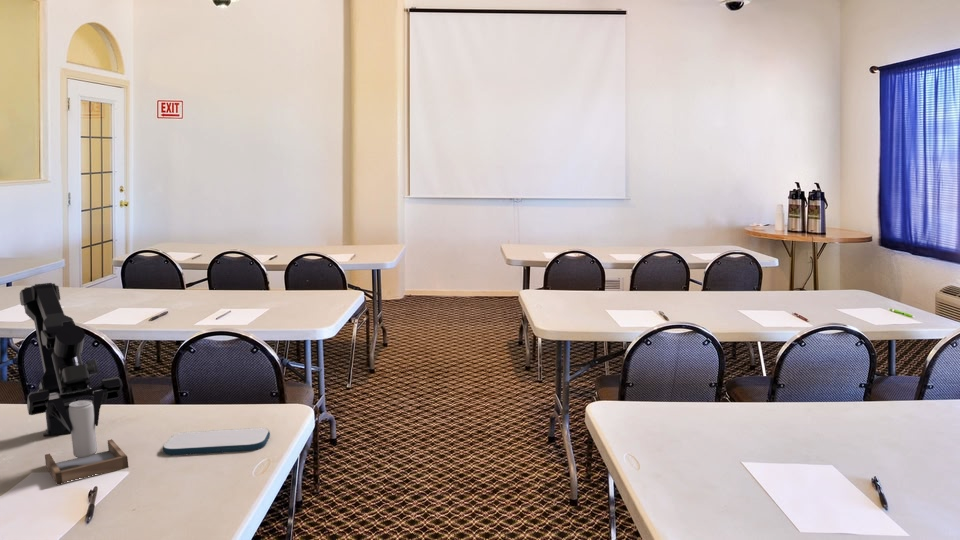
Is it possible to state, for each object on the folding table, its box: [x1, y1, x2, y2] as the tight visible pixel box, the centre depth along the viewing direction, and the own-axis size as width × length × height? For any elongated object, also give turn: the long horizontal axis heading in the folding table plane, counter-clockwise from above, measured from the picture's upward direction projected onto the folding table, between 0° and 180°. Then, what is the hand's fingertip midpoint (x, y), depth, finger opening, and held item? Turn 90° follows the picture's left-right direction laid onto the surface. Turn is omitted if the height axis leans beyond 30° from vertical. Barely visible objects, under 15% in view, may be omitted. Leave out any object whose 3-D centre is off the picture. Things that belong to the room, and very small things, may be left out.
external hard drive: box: [162, 427, 271, 456], centre depth 175 cm, size 24×12×2 cm, turn 96°
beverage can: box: [69, 399, 98, 458], centre depth 163 cm, size 5×5×12 cm
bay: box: [44, 439, 129, 485], centre depth 163 cm, size 14×14×2 cm
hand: (84, 427), depth 161 cm, fingers closed on beverage can, 5 cm apart
